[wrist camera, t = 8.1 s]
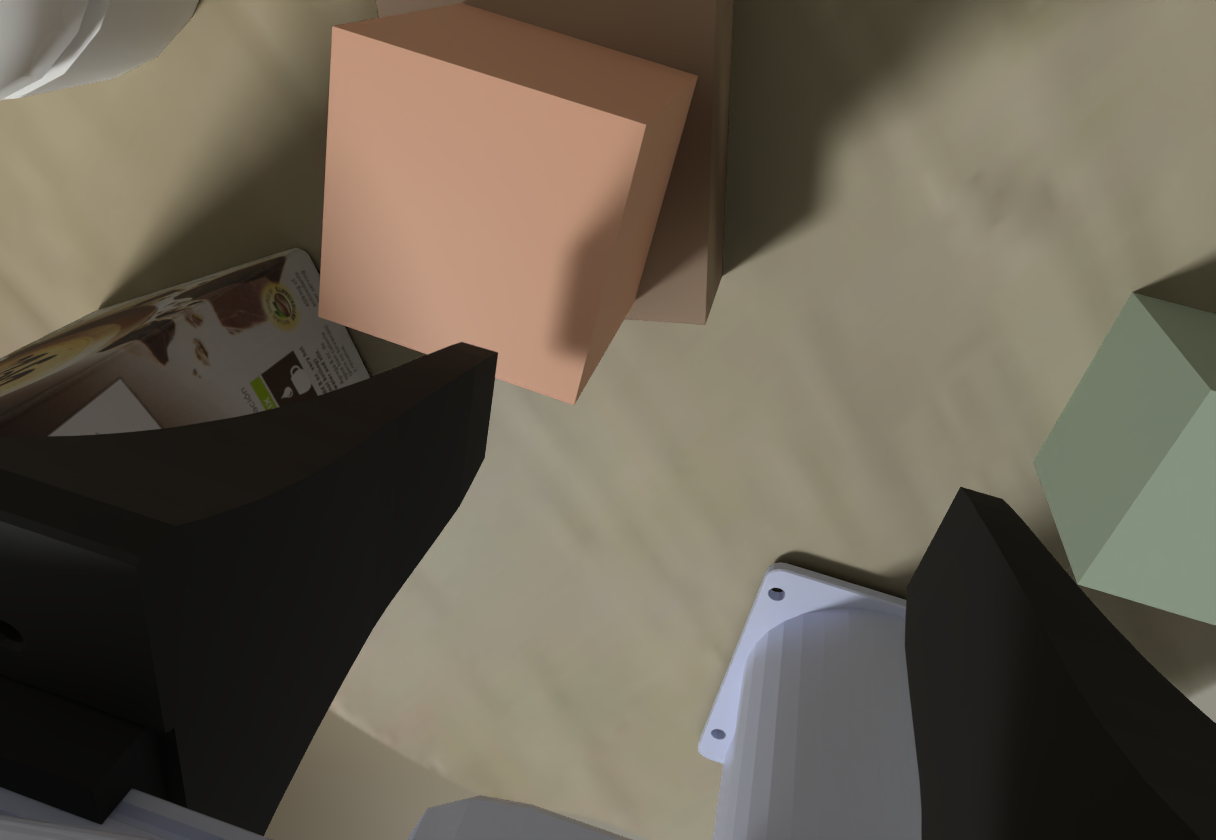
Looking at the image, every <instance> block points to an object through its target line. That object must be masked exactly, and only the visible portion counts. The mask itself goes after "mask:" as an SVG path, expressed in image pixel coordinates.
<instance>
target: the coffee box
mask: <svg viewBox="0 0 1216 840" xmlns="http://www.w3.org/2000/svg"><path fill="white" fill-rule="evenodd" d="M319 291H320V275H319V273H318V271H317V269H316V267H315V265H314V263H313V262H312V260H311V258H310V256H309V255H308V254H307V253H306V252H305V251H304V250H301V249H299V248H294V249H290V250H286V251H283V252H280V253H276V254H273V255H270V256H266V257H263V258H260V259H257V260H254V261H251V262H247V263H244V264H241V265H238V266H235V267H232V268H229V269H226V270H223V271H220V272H217V273H214V274H210V275H207V276H204V277H201V278H198V279H195V280H192V281H189V282H185V283H182V284H179V285H176V286H172V287H169V288H166V289H163V290H160V291H156V292H153V293H150V294H147V295H144V296H141V297H138V298H135V299H131V300H128V301H125V302H122V303H119V304H115V305H112V306H109V307H106V308H103V309H100V310H97V311H94V312H92V313H90V314H88V315H86V316H84V317H82V318H80V319H78V320H76V321H74V322H72V323H70V324H68V325H66V326H64V327H62V328H60V329H58V330H56V331H54V332H52V333H50V334H48V335H46V336H44V337H42V338H40V339H38V340H36V341H34V342H32V343H30V344H28V345H26V346H24V347H22V348H20V349H18V350H16V351H14V352H12V353H10V354H8V355H7V356H5V357H3V358H1V359H0V437H38V436H80V435H98V434H111V433H124V432H136V431H145V430H154V429H164V428H172V427H179V426H185V425H191V424H197V423H203V422H209V421H215V420H221V419H227V418H233V417H238V416H243V415H248V414H252V413H257V412H261V411H265V410H269V409H273V408H277V407H282V406H285V405H289V404H293V403H296V402H300V401H303V400H307V399H310V398H313V397H316V396H319V395H322V394H325V393H328V392H331V391H334V390H337V389H340V388H342V387H345V386H348V385H351V384H354V383H357V382H360V381H363V380H366V379H368V378H370V376H369V374H368V372H367V370H366V368H365V366H364V364H363V362H362V360H361V358H360V356H359V354H358V352H357V350H356V348H355V346H354V344H353V342H352V340H351V338H350V336H349V334H348V332H347V330H346V328H345V326H344V325H341V324H338V323H335V322H332V321H329V320H326V319H323V318H321V317H318V311H319Z"/></svg>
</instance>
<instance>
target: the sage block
mask: <svg viewBox="0 0 1216 840" xmlns="http://www.w3.org/2000/svg"><path fill="white" fill-rule="evenodd" d="M1033 463H1034V466H1035V468H1036V471H1037V474H1038V477H1039V479H1040V482H1041V485H1042V488H1043V490H1044V493H1045V496H1046V499H1047V502H1048V504H1049V507H1050V510H1051V513H1052V515H1053V518H1054V521H1055V524H1056V527H1057V529H1058V532H1059V535H1060V538H1061V540H1062V543H1063V546H1064V549H1065V551H1066V554H1067V557H1068V560H1069V563H1070V565H1071V568H1072V571H1073V574H1074V576H1075V579H1076V582H1077V584H1078V585H1081V586H1085V587H1088V588H1091V589H1095V590H1098V591H1101V592H1105V593H1108V594H1112V595H1115V596H1118V597H1122V598H1125V599H1128V600H1132V601H1135V602H1138V603H1142V604H1145V605H1148V606H1152V607H1155V608H1158V609H1162V610H1165V611H1168V612H1172V613H1175V614H1178V615H1182V616H1185V617H1188V618H1192V619H1195V620H1198V621H1202V622H1205V623H1208V624H1212V625H1215V626H1216V314H1214V313H1210V312H1206V311H1202V310H1199V309H1195V308H1191V307H1187V306H1183V305H1180V304H1176V303H1172V302H1168V301H1164V300H1160V299H1157V298H1153V297H1149V296H1145V295H1141V294H1138V293H1134V292H1132V293H1131V295H1130V297H1129V299H1128V300H1127V302H1126V304H1125V305H1124V307H1123V309H1122V311H1121V312H1120V314H1119V316H1118V317H1117V319H1116V321H1115V323H1114V324H1113V326H1112V328H1111V329H1110V331H1109V333H1108V335H1107V336H1106V338H1105V340H1104V341H1103V343H1102V345H1101V347H1100V348H1099V350H1098V352H1097V354H1096V355H1095V357H1094V359H1093V360H1092V362H1091V364H1090V366H1089V367H1088V369H1087V371H1086V372H1085V374H1084V376H1083V378H1082V379H1081V381H1080V383H1079V384H1078V386H1077V388H1076V390H1075V391H1074V393H1073V395H1072V396H1071V398H1070V400H1069V402H1068V403H1067V405H1066V407H1065V408H1064V410H1063V412H1062V414H1061V415H1060V417H1059V419H1058V420H1057V422H1056V424H1055V426H1054V427H1053V429H1052V431H1051V432H1050V434H1049V436H1048V438H1047V439H1046V441H1045V443H1044V444H1043V446H1042V448H1041V450H1040V451H1039V453H1038V455H1037V456H1036V458H1035V460H1034V462H1033Z"/></svg>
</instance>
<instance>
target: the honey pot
mask: <svg viewBox="0 0 1216 840" xmlns="http://www.w3.org/2000/svg"><path fill="white" fill-rule="evenodd" d="M198 2H199V0H0V100H2V99H13V98H21V97H26V96H31V95H36V94H41V93H46V92H50V91H55V90H60V89H65V88H70V87H75V86H80V85H85V84H90V83H95V82H100V81H104V80H109V79H114V78H117V77H118V76H120V75H122V74H124V73H126V72H128V71H130V70H132V69H134V68H136V67H138V66H140V65H142V64H144V63H146V62H148V61H150V60H152V59H154V58H156V57H158V56H159V55H160V53H161V52H162V51H163V50H164V49H165V48H166V47H167V45H168V44H169V43H170V42H171V41H172V40H173V39H174V37H175V36H176V35H177V34H178V33H179V32H180V31H181V29H182V28H183V27H184V26H185V25H186V24H187V23H188V21H189V20H190V19H191V18H192V17H193V14H194V12H195V9H196V7H197V4H198Z"/></svg>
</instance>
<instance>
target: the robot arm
mask: <svg viewBox="0 0 1216 840" xmlns="http://www.w3.org/2000/svg"><path fill="white" fill-rule="evenodd" d="M497 358H498V352H495V351H492V350H488V349H485V348H481V347H478V346H475V345H471V344H468V343H464V342H460V343H457V344H453V345H451V346H448V347H445V348H443V349H440V350H438V351H435V352H433V353H430V354H428V355H425V356H423V357H421V358H418V359H416V360H413V361H411V362H409V363H406V364H404V365H401V366H399V367H396V368H394V369H391V370H389V371H386V372H384V373H381V374H379V375H376V376H374V377H371V378H368V379H366V380H363V381H360V382H357V383H354V384H351V385H348V386H345V387H342V388H340V389H337V390H334V391H331V392H328V393H325V394H322V395H319V396H316V397H313V398H310V399H307V400H303V401H300V402H296V403H293V404H289V405H285V406H282V407H277V408H273V409H269V410H265V411H261V412H257V413H252V414H248V415H243V416H238V417H233V418H227V419H221V420H215V421H209V422H203V423H197V424H191V425H185V426H179V427H172V428H164V429H154V430H145V431H136V432H124V433H111V434H98V435H80V436H38V437H0V840H271V839H269V838H266V837H264V834H265V832H266V830H267V828H268V826H269V824H270V822H271V820H272V817H273V815H274V813H275V811H276V809H277V807H278V805H279V803H280V801H281V799H282V797H283V795H284V793H285V791H286V789H287V787H288V785H289V783H290V781H291V780H292V778H293V776H294V774H295V772H296V770H297V768H298V766H299V764H300V761H301V760H302V758H303V756H304V754H305V752H306V750H307V748H308V746H309V744H310V742H311V740H312V738H313V736H314V735H315V733H316V731H317V729H318V727H319V725H320V723H321V721H322V720H323V718H324V716H325V714H326V712H327V710H328V709H329V707H330V705H331V703H332V701H333V699H334V697H335V696H336V694H337V692H338V690H339V688H340V686H341V684H342V683H343V681H344V679H345V677H346V675H347V674H348V672H349V670H350V668H351V667H352V665H353V663H354V661H355V659H356V658H357V656H358V654H359V652H360V651H361V649H362V647H363V645H364V644H365V642H366V640H367V638H368V636H369V635H370V633H371V631H372V629H373V628H374V626H375V625H376V623H377V622H378V620H379V619H380V617H381V616H382V614H383V613H384V611H385V609H386V608H387V606H388V605H389V604H390V602H391V601H392V599H393V598H394V597H395V595H396V594H397V593H398V591H399V590H400V588H401V587H402V586H403V584H404V583H405V581H406V580H407V579H408V577H409V576H410V575H411V573H412V572H413V570H414V569H415V568H416V566H417V565H418V564H419V562H420V561H421V559H422V558H423V557H424V555H425V554H426V552H427V551H428V550H429V548H430V547H431V546H432V544H433V543H434V541H435V540H436V539H437V537H438V536H439V534H440V533H441V532H442V530H443V529H444V527H445V526H446V525H447V523H448V522H449V520H450V519H451V518H452V516H453V515H454V513H455V512H456V510H457V509H458V507H459V506H460V504H461V502H462V500H463V499H464V497H465V495H466V493H467V491H468V489H469V487H470V486H471V484H472V482H473V480H474V478H475V476H476V474H477V472H478V470H479V468H480V466H481V464H482V462H483V460H484V458H485V451H486V443H487V435H488V428H489V420H490V412H491V404H492V397H493V389H494V381H495V374H496V366H497ZM772 588H780V589H782V590H783V591H782V592H774V591H773V590H771V589H772ZM717 729H720V730H717ZM698 750H699V753H700V754H701V755H703V756H704V757H705V758H708V759H710V760H713V761H716V762H719V763H722V764H723V770H722V777H721V784H720V791H719V798H718V805H717V812H716V819H715V826H714V833H713V840H1216V723H1215V722H1213V721H1212V720H1211V719H1210V718H1209V717H1208V716H1206V715H1205V714H1204V713H1203V712H1202V711H1201V710H1200V709H1199V708H1197V707H1196V706H1195V705H1194V704H1193V703H1192V702H1191V701H1190V700H1189V699H1188V698H1187V697H1185V696H1184V695H1183V694H1182V693H1181V692H1180V691H1179V690H1178V689H1177V688H1176V687H1174V686H1173V685H1172V684H1171V683H1170V682H1169V681H1168V680H1167V679H1166V678H1165V677H1163V676H1162V675H1161V674H1160V673H1159V672H1158V671H1157V670H1156V669H1155V668H1154V667H1153V666H1152V665H1151V664H1150V663H1149V662H1148V661H1147V660H1146V659H1145V658H1144V657H1143V656H1142V655H1141V654H1140V653H1139V652H1138V651H1137V650H1136V649H1135V648H1134V647H1133V646H1132V645H1131V643H1130V642H1129V641H1128V640H1127V639H1126V638H1125V637H1124V636H1123V635H1122V634H1121V633H1120V632H1119V631H1118V630H1117V629H1116V628H1115V627H1114V626H1113V625H1112V624H1111V623H1110V621H1109V620H1108V619H1107V618H1106V617H1105V616H1104V615H1103V614H1102V613H1101V612H1100V610H1099V609H1098V608H1097V607H1096V606H1095V605H1094V604H1093V603H1092V602H1091V600H1090V599H1089V598H1088V597H1087V596H1086V595H1085V594H1084V592H1083V591H1082V590H1081V589H1080V588H1079V587H1078V585H1077V584H1076V583H1075V582H1074V581H1073V580H1072V578H1071V577H1070V576H1069V575H1068V574H1067V573H1066V571H1065V570H1064V569H1063V568H1062V567H1061V565H1060V564H1059V563H1058V562H1057V561H1056V560H1055V558H1054V557H1053V556H1052V555H1051V554H1050V552H1049V551H1048V550H1047V549H1046V548H1045V546H1044V545H1043V544H1042V543H1041V542H1040V540H1039V539H1038V538H1037V537H1036V536H1035V534H1034V533H1033V532H1032V531H1031V530H1030V528H1029V527H1028V526H1027V525H1026V524H1025V523H1024V521H1023V520H1022V519H1021V518H1020V517H1019V516H1018V515H1017V513H1016V512H1015V511H1014V510H1013V509H1012V508H1011V507H1010V506H1009V505H1008V504H1007V503H1006V502H1005V501H1004V500H1003V499H1001V498H997V497H994V496H990V495H987V494H983V493H980V492H976V491H973V490H970V489H966V488H963V487H960V489H959V491H958V493H957V494H956V496H955V498H954V500H953V502H952V504H951V506H950V508H949V509H948V511H947V513H946V515H945V517H944V519H943V521H942V523H941V525H940V526H939V528H938V530H937V532H936V534H935V536H934V538H933V540H932V541H931V543H930V545H929V547H928V549H927V551H926V553H925V555H924V556H923V558H922V560H921V562H920V564H919V566H918V568H917V570H916V571H915V573H914V575H913V577H912V579H911V581H910V583H909V585H908V586H907V599H906V600H905V599H901V598H898V597H895V596H892V595H888V594H885V593H882V592H879V591H875V590H872V589H869V588H866V587H862V586H859V585H856V584H852V583H849V582H846V581H843V580H839V579H836V578H833V577H830V576H826V575H823V574H820V573H817V572H813V571H810V570H807V569H804V568H800V567H797V566H794V565H791V564H787V563H781V562H780V563H774V564H773V565H771V566H769V568H768V569H767V570H766V573H765V575H764V578H763V580H762V583H761V585H760V588H759V590H758V593H757V595H756V598H755V600H754V603H753V605H752V608H751V611H750V613H749V616H748V618H747V621H746V623H745V626H744V628H743V631H742V633H741V636H740V638H739V641H738V643H737V646H736V648H735V651H734V653H733V656H732V658H731V661H730V663H729V666H728V668H727V671H726V673H725V676H724V678H723V681H722V683H721V686H720V688H719V691H718V693H717V696H716V699H715V701H714V704H713V706H712V709H711V711H710V714H709V716H708V719H707V721H706V724H705V726H704V729H703V731H702V734H701V736H700V739H699V744H698ZM408 840H632V839H629V838H626V837H623V836H620V835H617V834H614V833H611V832H608V831H606V830H603V829H600V828H597V827H594V826H592V825H589V824H586V823H583V822H580V821H577V820H574V819H572V818H569V817H566V816H563V815H560V814H557V813H554V812H552V811H549V810H546V809H543V808H540V807H537V806H534V805H531V804H525V803H520V802H514V801H509V800H503V799H498V798H492V797H487V796H481V795H480V796H475V797H471V798H467V799H463V800H459V801H454V802H451V803H446V804H442V805H438V806H435V807H431V808H428V809H427V810H426V812H425V813H424V815H423V816H422V818H421V819H420V821H419V822H418V824H417V825H416V827H415V828H414V830H413V831H412V833H411V834H410V836H409V839H408Z"/></svg>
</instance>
